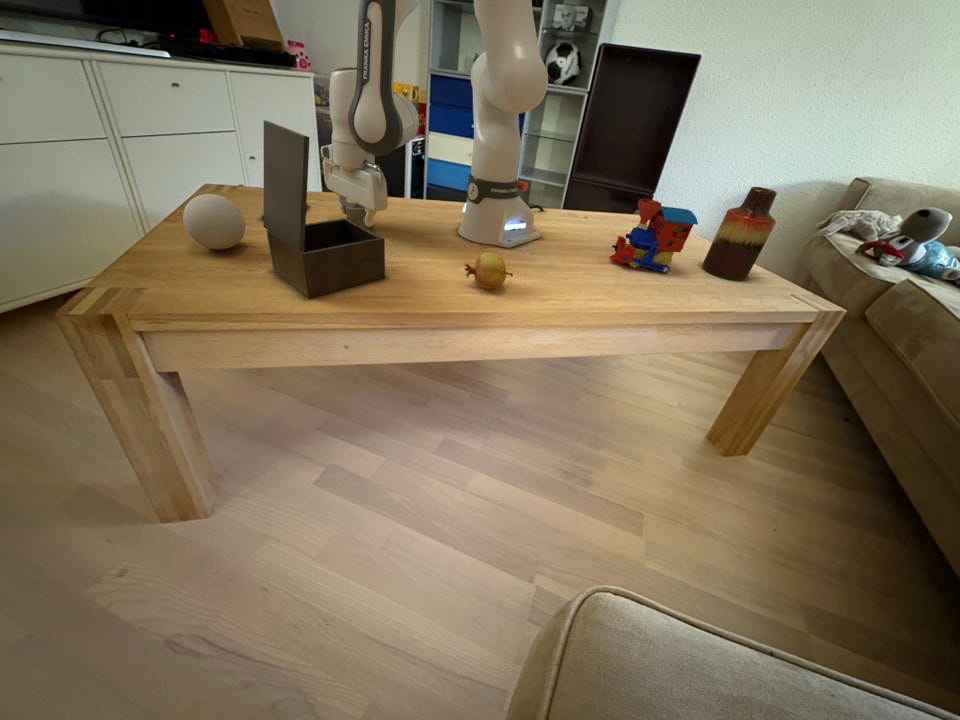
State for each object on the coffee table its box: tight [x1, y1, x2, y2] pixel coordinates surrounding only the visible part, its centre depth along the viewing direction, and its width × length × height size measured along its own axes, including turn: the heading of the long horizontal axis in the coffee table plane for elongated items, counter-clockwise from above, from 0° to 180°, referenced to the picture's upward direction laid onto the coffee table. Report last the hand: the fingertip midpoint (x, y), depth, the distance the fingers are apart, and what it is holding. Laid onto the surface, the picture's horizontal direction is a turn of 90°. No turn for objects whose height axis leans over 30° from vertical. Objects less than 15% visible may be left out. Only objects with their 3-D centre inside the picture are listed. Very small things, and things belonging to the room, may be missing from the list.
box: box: [266, 217, 386, 299], centre depth 76 cm, size 16×13×8 cm
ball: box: [182, 193, 246, 250], centre depth 79 cm, size 10×10×10 cm
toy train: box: [608, 198, 699, 274], centre depth 99 cm, size 10×16×15 cm, turn 93°
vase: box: [701, 186, 778, 282], centre depth 101 cm, size 11×11×20 cm
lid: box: [263, 119, 311, 252], centre depth 64 cm, size 16×13×1 cm
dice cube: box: [345, 202, 371, 231], centre depth 99 cm, size 5×5×5 cm
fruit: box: [463, 252, 514, 290], centre depth 80 cm, size 7×7×10 cm
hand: (356, 219), depth 99 cm, fingers open, 8 cm apart
